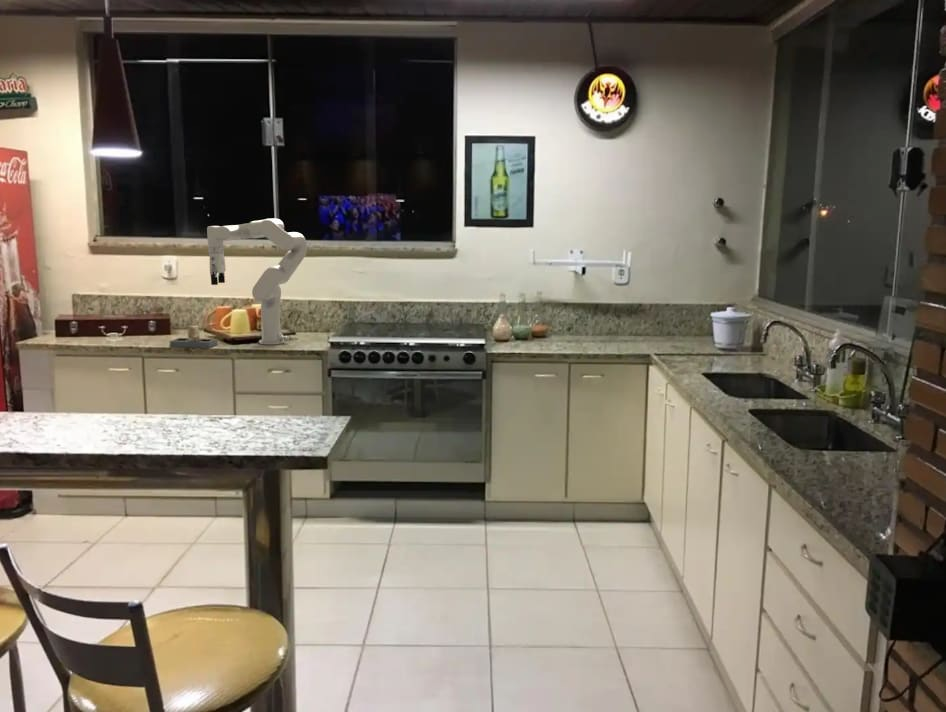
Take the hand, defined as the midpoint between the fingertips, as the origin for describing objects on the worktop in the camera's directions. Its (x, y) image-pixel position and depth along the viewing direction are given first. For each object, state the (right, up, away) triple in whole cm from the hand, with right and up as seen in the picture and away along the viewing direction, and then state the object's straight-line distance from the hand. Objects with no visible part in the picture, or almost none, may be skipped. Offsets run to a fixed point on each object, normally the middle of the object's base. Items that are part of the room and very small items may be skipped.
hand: (218, 283), depth 396 cm
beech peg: (-8, -32, -13) cm, 36 cm away
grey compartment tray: (-8, -32, -13) cm, 36 cm away
